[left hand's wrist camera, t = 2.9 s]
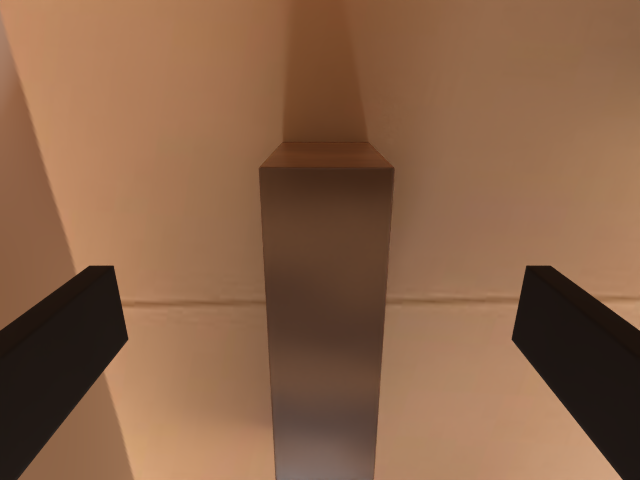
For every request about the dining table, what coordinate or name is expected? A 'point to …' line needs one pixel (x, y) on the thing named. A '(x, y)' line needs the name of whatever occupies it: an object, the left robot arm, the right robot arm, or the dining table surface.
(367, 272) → the bar
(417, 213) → the dining table surface
